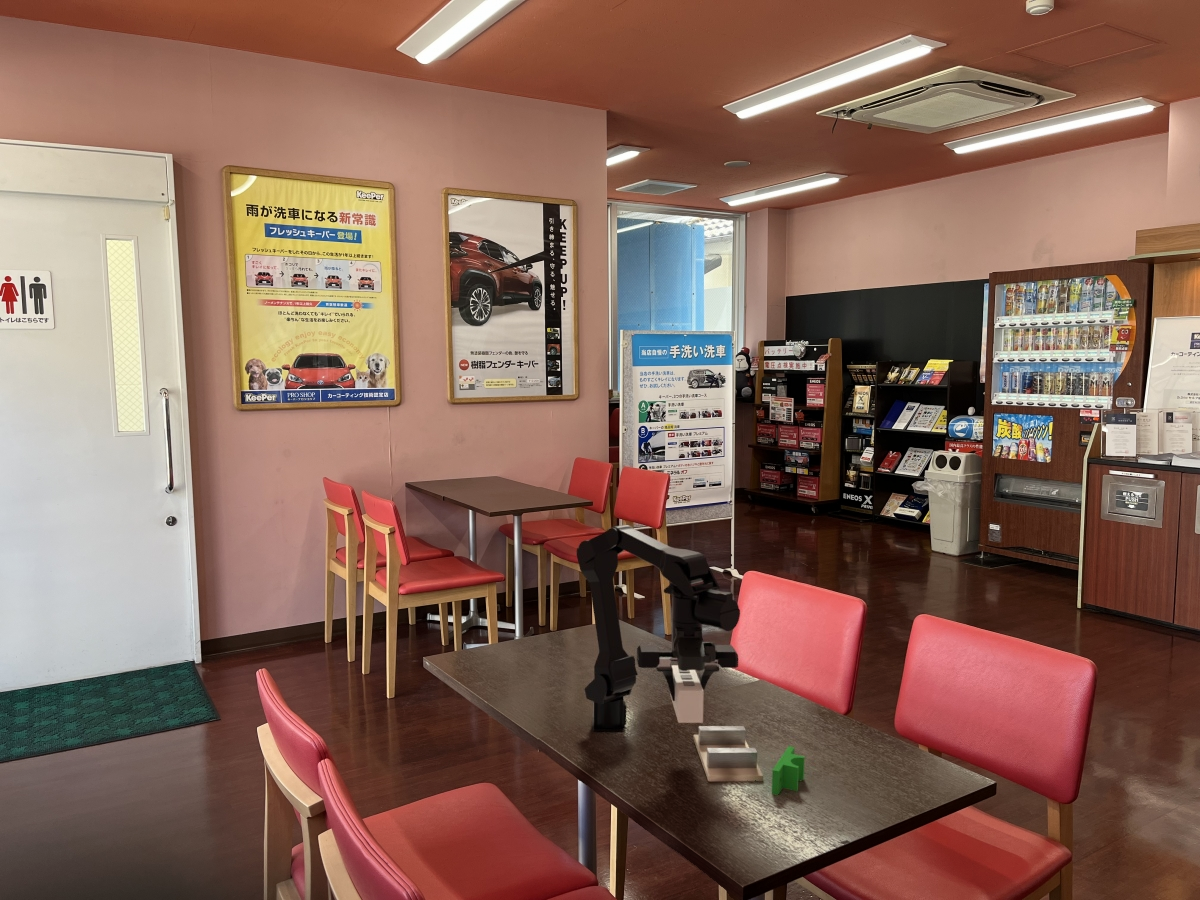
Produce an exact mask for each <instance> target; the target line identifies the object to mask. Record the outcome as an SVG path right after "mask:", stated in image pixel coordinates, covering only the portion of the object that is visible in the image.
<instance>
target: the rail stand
mask: <svg viewBox="0 0 1200 900" xmlns="http://www.w3.org/2000/svg"><path fill="white" fill-rule="evenodd" d="M746 733H747V730H746V728H745V726H744V725H712V726H711V725H707V726H706V725H705V726H704V725H702V726H701V725H699V726H698V734H693V743H694V744H695V745H694V746H695V747H696V750H697V753H698V756H699V759H700V761H701V762H700V763H701V764H702V768H703V770H704V773H705V775H706V778H707V779H706V780H707V781H708V782H764V775H763V773H762V771H761V769H760V766H759V764H758V751H757V749H756V747H749V744H748V743H747V741H746V737H747V735H746ZM747 780H748V781H747ZM755 780H756V781H755Z"/></svg>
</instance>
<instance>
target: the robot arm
mask: <svg viewBox="0 0 1200 900" xmlns="http://www.w3.org/2000/svg"><path fill="white" fill-rule="evenodd" d="M624 551H625V552H628V553H629V554H631V555H633V556H635V557H636V558H639V559H640V560H642V561H644V562H646V563H649V564H650V565H652V566H654V567H656V568H657V569H658V570H659V571H660V573H661V575H662V577H663V578H664V579H666V580H667V581H668V582H669V583H670V584H669V585H668V586H666V587H665V588H664V589H663V593H664V594H668V595H672V599H671V600H672V601H671V602H672V604H671V605H672V609H671V611H672V613H671V615H672V616H671V618H672V619H671V623H672V624H671V650H660V649H659V646H658V644H639V645H638V646H637V648H636V659H635V656H634V655H631V656H629V654H628V653H627V651H626V650H625V649H624V646H623V640H622V634H621V633H622V632H621V626H620V619H619V613H618V606H617V598H616V592H615V586H614V585H615V584H614V577H615V574H616V572H617V570H618V569H617V568H618V565H619V560H618V559H619V557H618V555H620V554H621V553H623V552H624ZM576 559H577V563H578V566H579V570H580V573H582V575H583V576H584V578H585V580H587V582H588V584H589V589H590V595H591V603H592V609H593V610H592V611H593V615H594V616H593V617H594V622H595V631H596V636H597V644H598V645H597V646H598V654H597V657H596V660H595V662H594V665H593V666H594V667H593V669H594V672H593V673H594V675H593V676H594V677H593V678H594V679H592V681H591V682H589V684H587V685H586V687H584V694H585V697H586V699H587V700H589V701H592V704H593V706H592V717H591V721H592V731H593V732H624V731H625V725H627V702H626V701H625V700H624V699H625V698H624V697H626V696H630V695H631V694H632V691H633V687H634V685H635V684H636V683H637V676H638V675H639V673H638V671H637V668H636V667H637V666H636V661H637V665H638V667H639V668H641V669H656V671H657V672H659V673H662V674H663V675H664V678H665V680H666V682H667V686H668V689H669V692H670V693H671V696H672V699H671V701H672V700H673V701H675V689H674V680H673V669H672V666H671V665H672V662H677V665H678V668H679V669H680V670H682V671H687V670H695V671H696V672H697V671H698V678H699V681H700V683H701V686H702V688H703V693H704V692H705V689H706V686H707V684H708V681H709V680H710V678H711V676H712V674H714V673H716V672H719V671H720V667H721V668H722V669H723V668H724V669H727V668H728V669H729V668H731V669H736V668H738V667H739V655H738V651H736V649H735V647H734V646H733V645H732V644H716V643H715V641H704V638H703V626H706V627H710V628H714V629H717V630H721V631H725V632H731V631H732V630H734V629H735V628H736V626H737V625H738V623H739V621H740V616H741V610H740V608H739V607H740V606H739V604H738V602H737V601H736V600H734V599H733V598H734V594H733V592H730V591H720V589H721V588H720V585H719V583H718V581H717V579H716V578H715V575H714V574H713V571H712V570H711V568H710V565H709V564H708V563H709V562H707V557H706V556H705V555H704V554H703V553H701V552H698V551H694V550H690V549H684V548H676V547H672V546H669V545H668V544H665V543H663V542H662V541H659V540H658V539H656V538H653V537H651V536H649V535H646V534H645V533H643V532H641V531H639V530H637V529H634V527H633V526H632V525H628V524H622V525H616V526H615V525H614V526H611V527H610V528H609V529H607V530H606V531H604V532H603V533H601V534H599V535H596V536H594V537H592V538H590V539H586V540H582V541H581V542H580V543H579V545H578V547H577V548H576ZM702 582H703V583H702ZM698 583H700V584H698ZM694 584H695V585H694ZM670 693H669V694H670ZM671 696H670V697H671Z"/></svg>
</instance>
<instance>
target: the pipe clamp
mask: <svg viewBox="0 0 1200 900" xmlns="http://www.w3.org/2000/svg"><path fill="white" fill-rule="evenodd" d="M805 757H806V756H804V755H799V754H795V747H794V746H790V745H788V746H787V748H786V749H785V751H784V753H782V755H781V757H779V760H778V761H777V763H776V764H775V766H774V767H773V769H772V776H771V777H772V781H771V795H775V794H776V795H775V796H779V795H780V794H781V793H780V792H782V790H783V789H784V788H786V789H785V790H788V789H791V790H790V791H793V790H794V791H793V792H798V791H797V790H799V780H803V781H804V780H805V761H806V758H805ZM781 789H782V790H781ZM778 794H779V795H778Z"/></svg>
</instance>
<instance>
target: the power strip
mask: <svg viewBox="0 0 1200 900" xmlns="http://www.w3.org/2000/svg"><path fill="white" fill-rule="evenodd" d="M671 666H672V669H673V680H674V689H675V701H673V700H672V696H671V693H669V694H670V695H669V696H670V699H671V701H672V706H673V709H674V713H675V716H676V719H677V722H678V724H679V723H680V724H687V723H688V724H704V692H703V688H702V686H701V683H700V681H699V678H698V677H699V675H698V674H697V670H687V671H682V670H680V669H679V668H678V664H677V665H676V664H675V665H674V664H673V665H672V664H671Z"/></svg>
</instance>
